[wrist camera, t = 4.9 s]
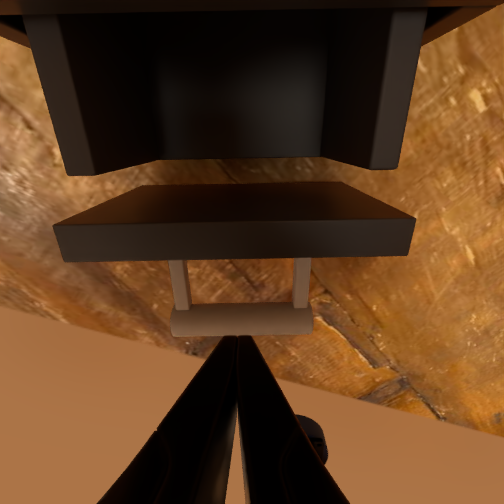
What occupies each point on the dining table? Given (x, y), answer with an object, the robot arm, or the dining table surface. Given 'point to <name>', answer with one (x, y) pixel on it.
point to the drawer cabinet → (437, 21)
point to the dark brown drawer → (231, 139)
